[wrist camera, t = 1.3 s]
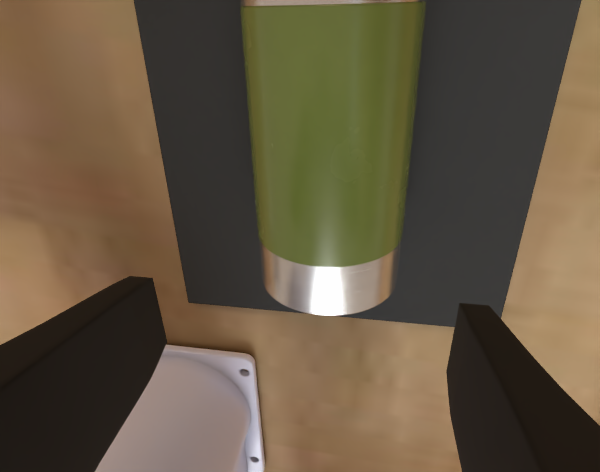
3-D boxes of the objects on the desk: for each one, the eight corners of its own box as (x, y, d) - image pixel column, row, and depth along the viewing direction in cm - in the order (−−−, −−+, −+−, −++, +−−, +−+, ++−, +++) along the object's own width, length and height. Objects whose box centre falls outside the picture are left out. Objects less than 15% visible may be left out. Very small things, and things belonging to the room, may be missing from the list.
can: (426, -64, 12) (396, 244, 17) (261, -56, 13) (277, 237, 18) (447, -96, 8) (399, 324, 13) (203, -81, 9) (244, 309, 14)
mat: (495, 325, 19) (498, 331, 18) (191, 298, 21) (188, 303, 21) (719, -574, 8) (734, -599, 8) (62, -435, 10) (51, -450, 10)
